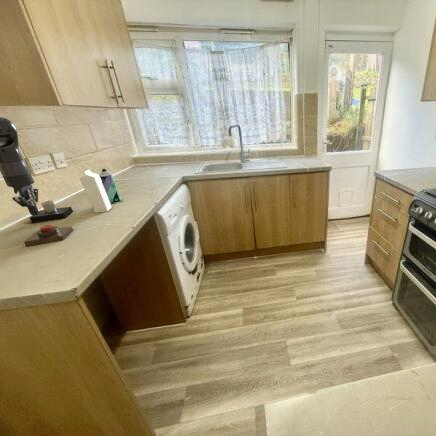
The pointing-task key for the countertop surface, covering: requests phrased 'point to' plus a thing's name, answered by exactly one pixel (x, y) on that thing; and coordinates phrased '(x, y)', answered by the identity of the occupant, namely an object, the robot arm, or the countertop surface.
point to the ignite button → (46, 228)
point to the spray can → (110, 186)
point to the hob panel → (51, 215)
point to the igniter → (48, 236)
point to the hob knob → (49, 207)
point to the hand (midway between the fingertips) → (35, 214)
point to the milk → (95, 192)
